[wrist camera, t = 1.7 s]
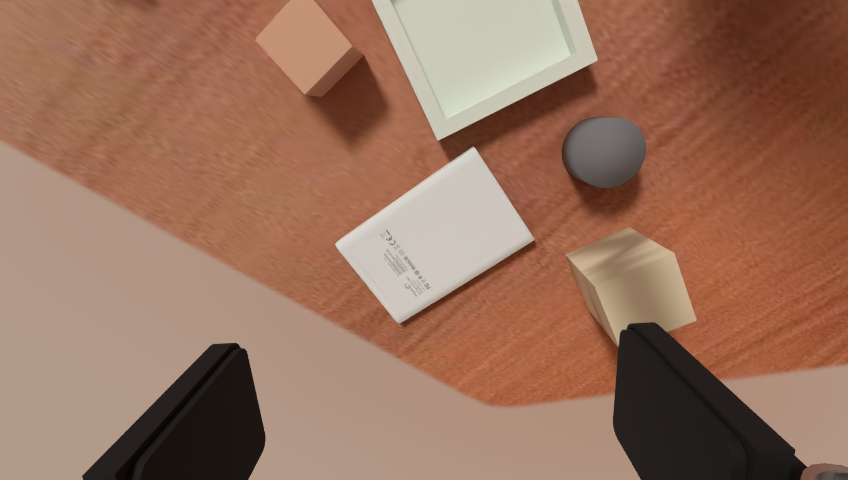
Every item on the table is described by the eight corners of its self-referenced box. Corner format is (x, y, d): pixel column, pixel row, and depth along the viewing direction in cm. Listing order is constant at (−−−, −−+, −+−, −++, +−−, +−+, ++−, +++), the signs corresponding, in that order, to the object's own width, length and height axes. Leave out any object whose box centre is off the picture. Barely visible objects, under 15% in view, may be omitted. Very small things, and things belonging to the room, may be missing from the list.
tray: (524, -117, 24) (531, -135, 22) (587, 63, 27) (598, 60, 25) (362, -21, 26) (357, -31, 24) (437, 139, 29) (437, 140, 27)
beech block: (628, 226, 30) (674, 253, 24) (648, 282, 31) (696, 320, 26) (565, 254, 31) (594, 286, 25) (587, 307, 32) (620, 350, 26)
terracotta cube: (321, 5, 26) (302, -14, 23) (364, 55, 27) (352, 45, 23) (280, 49, 27) (254, 39, 23) (322, 97, 28) (304, 94, 24)
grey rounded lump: (613, 105, 28) (633, 104, 25) (632, 164, 29) (654, 170, 26) (552, 135, 28) (565, 137, 26) (573, 191, 30) (588, 199, 27)
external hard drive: (531, 234, 31) (400, 316, 33) (472, 144, 29) (338, 238, 32) (536, 240, 30) (398, 326, 32) (474, 146, 28) (333, 245, 30)
